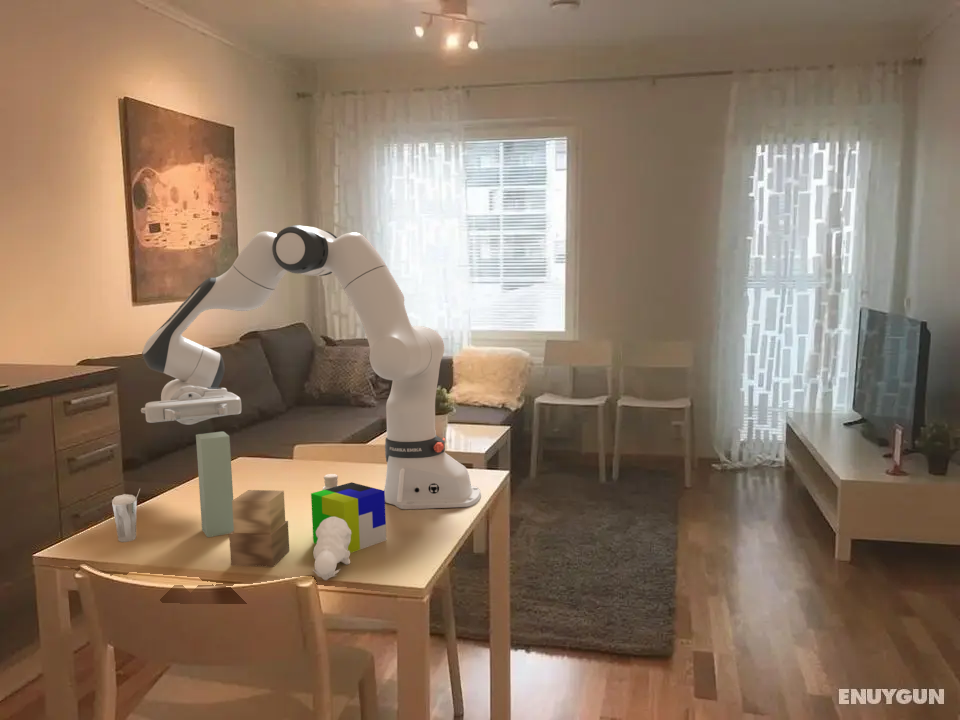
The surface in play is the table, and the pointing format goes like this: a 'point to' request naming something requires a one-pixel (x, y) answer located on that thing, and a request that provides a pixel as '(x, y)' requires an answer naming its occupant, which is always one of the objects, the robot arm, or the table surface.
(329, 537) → the white animal figurine
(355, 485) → the puzzle toy
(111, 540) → the table surface
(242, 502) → the tower top
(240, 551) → the tower bottom
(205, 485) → the pillar
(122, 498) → the milkshake
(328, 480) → the pepper shaker
